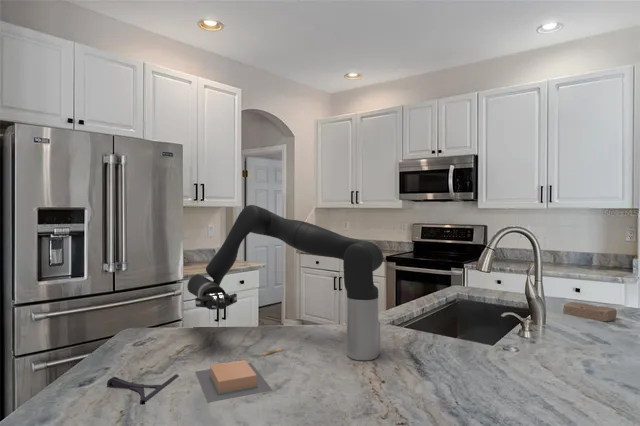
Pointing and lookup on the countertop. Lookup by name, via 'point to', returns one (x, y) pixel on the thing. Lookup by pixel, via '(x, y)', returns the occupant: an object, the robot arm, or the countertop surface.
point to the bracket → (139, 387)
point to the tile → (233, 377)
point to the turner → (272, 352)
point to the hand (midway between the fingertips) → (222, 305)
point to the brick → (590, 311)
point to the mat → (213, 395)
